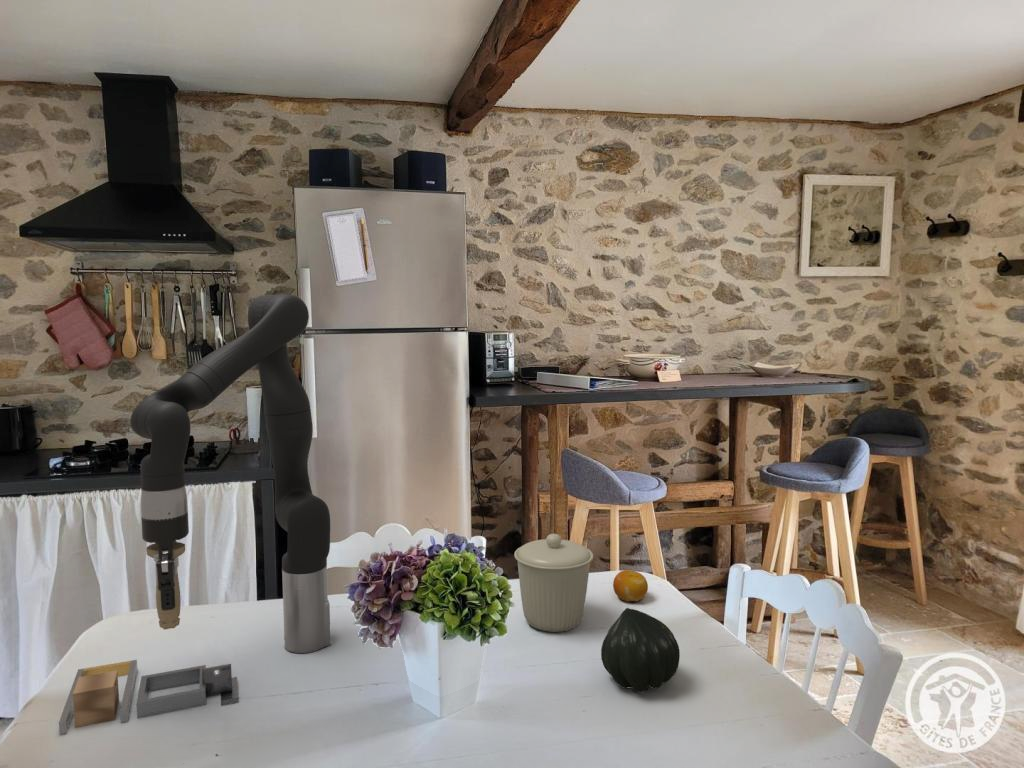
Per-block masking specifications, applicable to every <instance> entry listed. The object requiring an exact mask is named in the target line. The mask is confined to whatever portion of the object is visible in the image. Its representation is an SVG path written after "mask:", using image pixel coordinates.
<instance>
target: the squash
mask: <svg viewBox="0 0 1024 768" xmlns="http://www.w3.org/2000/svg"><path fill="white" fill-rule="evenodd" d="M601 644H602V645H601V650H600V653H601V654H600V655H601V662H602V666H603V667H604V669H605V670H606V671H607V673H608V674H609V676H611V677H612V679H613V681H615V683H616V684H617V685H618V686H620V687H621V688H623V687H624V689H628V688H627V687H631V689H632V690H633V691H634V692H635V693H636V692H637V693H644V692H646V691H647V690H648V687H650V688H651V689H659V688H661V687H662V686H663V684H664V683H666V682H669V681H670V680H671V679H672V678H673V677H674V676H675V674H676V673H677V671H678V668H679V666H680V665H679V664H680V657H681V656H680V653H681V651H680V646H679V643H678V642H677V639H676V637H675V635H674V633H673V632H672V631H671V629H670V628H669V627H668V626H667V625H666V624H665V623H663V622H662V621H661V620H660V619H658V618H655V617H653V616H652V615H650V614H647V613H645V612H643V611H640V610H637V609H635V608H629V607H626V608H625V609H624V610H623V611H622V612H621V614H620V615H619V616H618V617H617V619H616V620H615V621H614V622H613V623H612V625H610V627H609V629H608V631H607V634H606V636H605V637H604V639H603V642H602V643H601Z"/></svg>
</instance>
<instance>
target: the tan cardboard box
mask: <svg viewBox="0 0 1024 768" xmlns="http://www.w3.org/2000/svg"><path fill="white" fill-rule="evenodd" d="M119 691H120V690H119V676H118V673H117V671H112V672H106V673H100V674H94V675H88V676H82V677H79V678H78V681H77V684H76V687H75V689H74V692H73V703H74V713H73V716H74V718H73V719H74V727H75V728H78V727H83V726H89V725H94V724H99V723H105V722H109V721H114V720H116V717H117V713H118V710H119V705H120V694H119Z"/></svg>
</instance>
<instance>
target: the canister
mask: <svg viewBox="0 0 1024 768" xmlns="http://www.w3.org/2000/svg"><path fill="white" fill-rule="evenodd" d="M514 558H515V560H516V561H517V570H518V579H519V589H520V598H521V605H522V611H523V616H524V619H525V621H526V622H527V623H528V624H529V625H530V626H531V627H532V628H535V629H537V630H539V631H543V632H549V633H551V632H552V633H555V632H557V633H559V632H566V631H570V630H572V629H574V628H576V627H577V626H578V625H579V623H581V621H582V618H583V615H584V613H585V611H584V610H585V604H586V597H587V591H588V590H587V589H588V581H589V573H590V565H591V562H592V561H593V560H594V554H593V552H592V551H591V549H589V548H587V547H586V546H584V545H582V544H580V543H578V542H575V541H573V540H568V539H562V537H561V536H560V535H559V534H558V533H550V534H548V535H547V536H546V538H544V539H543V538H541V539H536V540H533V541H529V542H527V543H525V544H523V545H522V546H520V547H518V548H517V549H516V550H515V551H514Z"/></svg>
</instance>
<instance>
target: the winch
mask: <svg viewBox="0 0 1024 768" xmlns="http://www.w3.org/2000/svg"><path fill="white" fill-rule="evenodd" d="M232 675H233V674H232V663H227V664H220V665H217V666H210V667H207V665H206V664H203V665H198V666H192V667H186V668H180V669H175V670H170V671H165V672H158V673H152V674H147V675H146V674H145V675H141V676H140V684H139V688H138V692H137V693H138V694H137V698H136V718H137V719H141V718H146V717H152V716H157V715H162V714H165V713H166V714H167V713H172V712H177V711H181V710H182V711H183V710H186V709H187V710H188V709H192V708H198V707H202V706H206V705H207V697H208V696H213V695H218V694H219V695H220V706H221V707H222V706H227V705H230V704H231V705H232V704H237V703H239V702H240V701H239V700H240V699H239V687H238V685H239V684H238V676H233V677H232ZM197 683H199V685H198V687H199V688H197V689H191V690H187V691H180V692H176V693H175V692H174V693H170V694H165V695H159V696H155V697H148V693H149V692H153V691H154V692H155V691H158V690H159V691H160V690H164V689H169V688H175V687H180V686H187V685H191V684H192V685H193V684H197Z"/></svg>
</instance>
